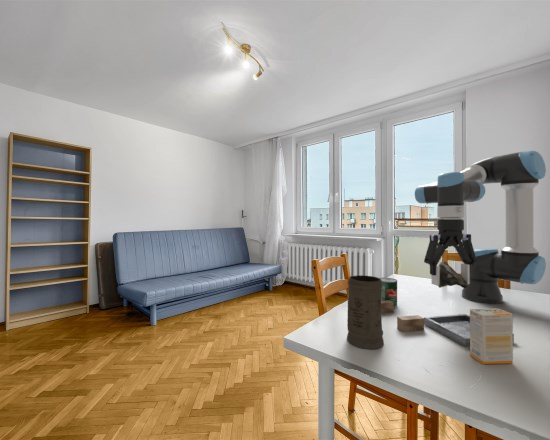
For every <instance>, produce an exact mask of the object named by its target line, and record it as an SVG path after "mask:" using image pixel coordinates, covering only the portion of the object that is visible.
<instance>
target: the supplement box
mask: <svg viewBox="0 0 550 440" xmlns="http://www.w3.org/2000/svg"><path fill="white" fill-rule="evenodd" d="M469 316H470V347H469V356H471V358H473V359H475V360H476V361H478V362H479V363H481V364H482V365H497V364H498V365H500V364H501V365H502V364H513V363H514V348H513V347H514V342H513V334H514V331H513V330H514V326H513V324H514V323H513V322H514V314H513V313H511V312H508V311H505V310H504V309H501V308H470V309H469Z"/></svg>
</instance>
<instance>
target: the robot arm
mask: <svg viewBox="0 0 550 440" xmlns="http://www.w3.org/2000/svg"><path fill="white" fill-rule="evenodd" d="M546 169H547V168H546V163H545V160H544V158H543V156H542V155H541V153H540V152H539V151H536V150H527V151H519V152H513V153H508V154H502V155H496V156H491V157H488V158H485V159H484V158H483V159H482V160H479V161H477V162H474V163H472V164H470V165H467V166H466V167H465V168H464V169H463V170H461V171H451V172H450V171H449V172H443V173H440V174H438V176H437V180H436V181H434V182H431V183H429V184H423V185H418V186H416V188H415V190H414V197H415V198H414V199H415V201H416V202H417V203H419V204H426V205H428V204H437V211H436V214H437V216H436V217H437V224H436V225H437V231H438V233H437V234H430V235H429V243H428V246H427V249H426V254H425V256H424V260H423V262H424V263H425V264H427V265H429V274H430V276H431V284H432V285H433V286H434V285H435V286H436V287H437V286H439V281H440V270H439V263H440V260H441V258H442V257H443V255H444V253H445V251H446V250H447V249H448V248H449V247H453V248H454V249H455V251H456V253H457V254H458V255H459V258H460V259H461V262H462V263H460V275H461V276H462V277H463V278H464V280H465V281H466V282H467V284H468V287H467V288H462V289H461V297H463V298H464V299H465V300H469V301H473V302H477V303H484V304H502V303H503V301H504V297H503V294H502V293H501V292H502V291H501V289H500V287H499V284H498V282H499V280H503V281H508V282H515V283H520V284H522V285H523V284H526V285H536V284H538V283H540V281H542V279H543V277H544V275H545V271H546V266H547V262H546V258H545V257H544V256H541V255H540V254H539V253H540V252H539V250H538V249H536V247H534V189H535V187H537V186H538V185H539V182H540V181H539V180H542V179H544V177H545V176H546V173H547V170H546ZM499 183H500V187H501V188H502V189H504V191H505V246H503V248H501V249H500V251H499V249H498V248H479V249H478V248H477V249H474V246H473V243H472V234H470V233H463V231H464V230H465V220H464V219H463V218H464V217H465V202H467V203H472V202H477V201H480V200H482V199H483V198H484V196H485V195H486V187H485V184H499Z"/></svg>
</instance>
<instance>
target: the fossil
mask: <svg viewBox="0 0 550 440" xmlns="http://www.w3.org/2000/svg"><path fill="white" fill-rule="evenodd" d="M438 266H439V270H440V281H439V286H438V288H444V287H447V286H450V287H452V286H455V285H456V286H459V287H461V288H462V289H463V288H467V287H468V284H467V282H466V281H465V280H464V278H463V277H462V276H461V273H458V272H456V271H455V270H454V268H453V267H452V266H450V264H449V263H448V262H446V261H443V260H442V261H441V262H439V263H438Z"/></svg>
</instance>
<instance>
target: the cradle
mask: <svg viewBox="0 0 550 440" xmlns="http://www.w3.org/2000/svg"><path fill="white" fill-rule="evenodd" d="M390 313H395V308H394V302H392V301H390V300H384V301H381V314H390ZM396 317H397V318H396V319H397V321H396V328H397V330H399V331H401V332H402V333H407V332H416V331H417V332H418V331H419V332H420V331H425V324H424V317H422V316H420V315H419V314H416V315H402V316H396Z"/></svg>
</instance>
